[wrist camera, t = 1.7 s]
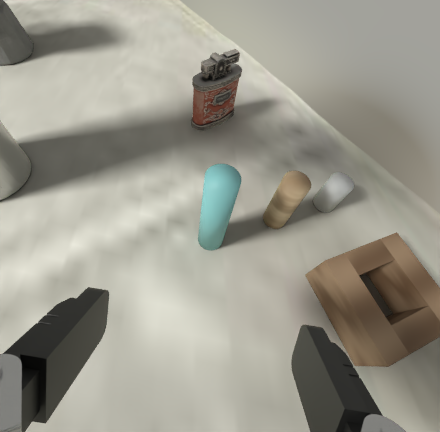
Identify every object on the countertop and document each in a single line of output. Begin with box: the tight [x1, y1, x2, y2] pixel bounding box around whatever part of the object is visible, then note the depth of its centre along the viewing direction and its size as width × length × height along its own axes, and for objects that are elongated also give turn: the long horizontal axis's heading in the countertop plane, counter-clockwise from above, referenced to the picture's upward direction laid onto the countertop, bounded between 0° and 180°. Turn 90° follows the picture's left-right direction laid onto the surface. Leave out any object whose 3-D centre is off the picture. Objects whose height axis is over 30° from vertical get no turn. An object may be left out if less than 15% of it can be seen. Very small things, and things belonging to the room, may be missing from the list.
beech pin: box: [263, 171, 311, 229], centre depth 30 cm, size 3×3×8 cm
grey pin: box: [313, 172, 354, 213], centre depth 34 cm, size 3×3×5 cm
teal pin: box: [198, 164, 241, 250], centre depth 26 cm, size 3×3×12 cm
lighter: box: [191, 49, 242, 131], centre depth 38 cm, size 8×3×10 cm, turn 130°
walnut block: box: [305, 233, 440, 367], centre depth 27 cm, size 10×10×5 cm
